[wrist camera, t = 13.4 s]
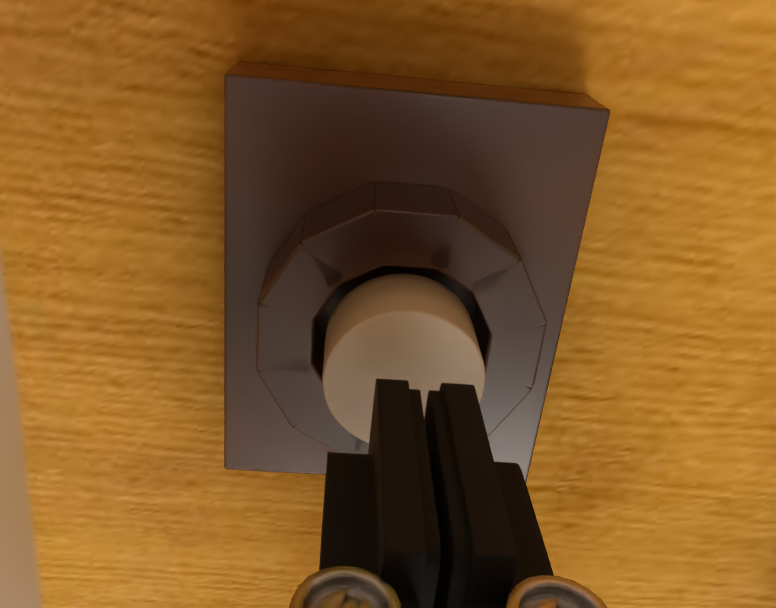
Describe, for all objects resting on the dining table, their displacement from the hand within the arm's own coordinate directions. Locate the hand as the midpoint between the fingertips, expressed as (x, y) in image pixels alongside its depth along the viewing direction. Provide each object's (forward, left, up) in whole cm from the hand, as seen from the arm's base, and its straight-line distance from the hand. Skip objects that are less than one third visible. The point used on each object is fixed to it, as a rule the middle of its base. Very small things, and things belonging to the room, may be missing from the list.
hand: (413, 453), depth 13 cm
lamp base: (0, 0, -7) cm, 7 cm away
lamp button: (0, 0, -4) cm, 4 cm away
